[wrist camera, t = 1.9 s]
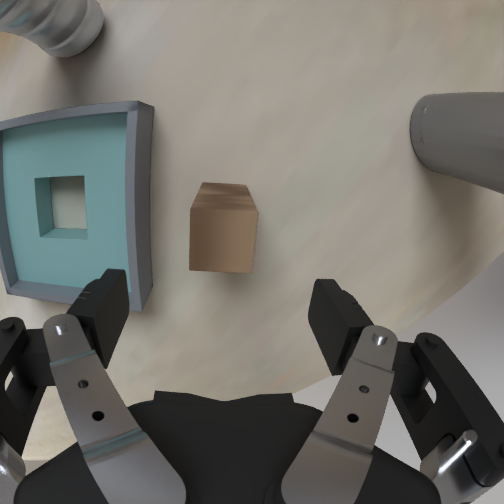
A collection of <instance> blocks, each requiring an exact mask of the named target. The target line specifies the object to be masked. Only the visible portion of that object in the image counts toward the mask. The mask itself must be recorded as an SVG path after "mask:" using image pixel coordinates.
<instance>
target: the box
mask: <svg viewBox="0 0 504 504" xmlns="http://www.w3.org/2000/svg"><path fill="white" fill-rule="evenodd" d="M153 111H154V107H153V106H151V105H148V104H145V103H143V102H140V101H127V102H113V103H102V104H93V105H84V106H77V107H70V108H63V109H57V110H51V111H46V112H41V113H36V114H31V115H26V116H22V117H18V118H13V119H9V120H6V121H2V122H0V269H1V273H2V277H3V281H4V284H5V288H6V291H7V294H11V295H16V296H22V297H28V298H34V299H40V300H46V301H53V302H59V303H67V304H73V303H74V301H75V300H76V299H77V298H78V296H79V295H80V293H81V292H82V290H83V289H84V288H85V286H86V285H87V284H88V283H90V282H92V281H93V280H95V279H100V278H101V276H102V275H103V273H104V272H105V271H106V269H108V268H111V269H124V270H125V272H126V277H127V286H128V295H129V304H130V307H129V311H136V312H142V310H143V308H144V305H145V303H146V300H147V298H148V296H149V293H150V291H151V288H152V286H153V284H152V268H151V247H150V160H151V139H152V124H153ZM81 175H84V181H85V206H86V220H87V229H67V228H54V224H53V215H52V203H51V188H50V177H59V176H81Z"/></svg>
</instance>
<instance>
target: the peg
mask: <svg viewBox="0 0 504 504" xmlns="http://www.w3.org/2000/svg"><path fill="white" fill-rule="evenodd" d="M257 219H258V211H257V209H256V207H255V204H254V202H253V200H252V197H251V195H250V193H249V191H248V188H247V186H246V185H238V184H222V183H204V182H203V183H202V185H201V187H200V189H199V191H198V193H197V196H196V198H195V200H194V202H193V204H192V207H191V209H190V250H189V270H193V271H212V272H233V273H252V268H253V258H254V248H255V238H256V229H257Z"/></svg>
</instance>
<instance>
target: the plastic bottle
mask: <svg viewBox="0 0 504 504" xmlns="http://www.w3.org/2000/svg"><path fill="white" fill-rule="evenodd" d="M103 22H104V13H103V11H102V9H101V6H100V4H99V3H98V2H97V1H96V0H0V31H1V32H7V33H11V34H15V35H19V36H22V37H25V38H26V39H28V40H30V41H32V42H33V43H35V44H37V45H38V46H39V47H40V48H41V49H42V50H44V51H45V52H46V53H48V54H49V55H51V56H54V57H71V56H74V55H77V54H78V53H80V52H82V51H83V50H85V49H86V48H87V47H89V46H90V45H91V44H92V43H93V41H94V40H95V39H96V38H97V36H98V35H99V33H100V30H101V28H102V26H103Z"/></svg>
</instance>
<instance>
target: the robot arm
mask: <svg viewBox="0 0 504 504" xmlns="http://www.w3.org/2000/svg"><path fill="white" fill-rule="evenodd" d="M410 133H411V140H412V144H413V147H414V150H415V152H416V154H417V156H418V158H419V159H420V160H421V162H422V163H423V164H424V165H425V166H426V167H427V168H429V169H430V170H432V171H435V172H438V173H442V174H445V175H448V176H452V177H455V178H457V179H461V180H464V181H467V182H470V183H473V184H476V185H479V186H482V187H485V188H488V189H490V190H493V191H496V192H499V193H501V194H504V92H466V93H445V94H433V95H427V96H425V97H423V98H422V99H421V100H420V101H419V102H418V103H417V105H416V106H415V108H414V110H413V113H412V117H411V122H410ZM129 307H130V304H129V295H128V286H127V277H126V272H125V270H124V269H111V268H108V269H106V271H105V272H104V273H103V275H102V276H101V278H100V279H95V280H93V281H92V282H90V283H88V284H87V285H86V286H85V288H84V289H83V290H82V292H81V293H80V295H79V296H78V298H77V299H76V300H75V301H74V303H73V304H72V306H71V307H70V308H69V310H68V311H67V313H66V314H59V315H55V316H53V317H51V318H49V319H48V320H47V321H46V322H45V323H44V325H43V328H42V329H27V330H26V327H25V324H24V322H23V320H22V319H20V318H18V317H9V318H5V319H3V320H1V321H0V504H470V503H471V502H473V501H474V500H475V499H477V498H479V497H480V496H481V495H483V494H484V493H485V492H487V491H488V490H489V489H491V488H492V487H493V486H495V485H496V484H497V483H498V482H500V481H501V480H502V479H503V478H504V423H503V421H502V420H501V418H500V417H499V415H498V414H497V412H496V411H495V409H494V408H493V406H492V405H491V403H490V402H489V400H488V399H487V398H486V396H485V395H484V393H483V392H482V390H481V389H480V388H479V386H478V385H477V384H476V382H475V381H474V379H473V378H472V377H471V375H470V374H469V373H468V371H467V370H466V369H465V367H464V366H463V365H462V363H461V362H460V361H459V360H458V358H457V357H456V356H455V354H454V353H453V352H452V351H451V349H450V348H449V347H448V346H447V344H446V343H445V342H444V341H443V340H442V339H441V338H440V337H438V336H436V335H434V334H432V333H426V332H425V333H420V334H418V335H417V337H416V339H415V341H414V343H408V342H400V341H398V339H397V337H396V335H395V334H394V333H393V332H392V331H391V330H389V329H387V328H385V327H382V326H377V325H374V324H373V322H372V321H371V320H370V318H369V317H368V315H367V314H366V313H365V311H364V310H362V307H361V306H360V305H359V304H358V302H357V301H356V299H355V298H354V297H353V296H352V295H351V294H349V293H348V292H346V291H345V290H342V289H341V288H340V287H339V285H338V284H337V282H336V281H335V280H334V279H317V280H316V281H315V283H314V288H313V292H312V297H311V301H310V306H309V311H308V320H309V324H310V326H311V329H312V331H313V333H314V335H315V338H316V340H317V342H318V344H319V347H320V349H321V351H322V354H323V356H324V358H325V360H326V363H327V365H328V367H329V370H330V372H331V374H332V376H335V375H342V376H341V378H340V380H339V382H338V385H337V386H336V389H335V391H334V392H333V394H332V396H331V398H330V400H329V402H328V404H327V406H326V408H325V410H324V411H323V412H322V411H320V410H318V409H316V408H314V407H311V406H308V405H304V404H299V403H294V401H293V396H292V393H284V394H259V395H254V396H250V397H245V398H240V399H235V400H230V401H219V400H214V399H210V398H206V397H201V396H197V395H193V394H189V393H177V392H165V391H155V393H154V399H153V400H151V401H145V402H140V403H137V404H134V405H131V406H129V407H126V405H125V404H124V402H123V400H122V399H121V397H120V395H119V394H118V392H117V390H116V388H115V387H114V385H113V383H112V382H111V380H110V378H109V376H108V374H107V372H106V371H105V369H107V367H108V364H109V362H110V359H111V357H112V354H113V352H114V349H115V347H116V344H117V342H118V339H119V337H120V334H121V332H122V329H123V327H124V325H125V322H126V320H127V318H128V315H129ZM10 371H11V372H12V374H13V378H12V380H11V382H10V384H9V386H8V388H7V390H6V392H5V380H6V378H7V376H8V374H9V372H10ZM429 381H430V382H431V384H432V386H433V387H434V389H435V391H436V401H435V403H433V401H432V400H431V398H430V396H429V395H428V393H427V391H426V390H425V387H426V385H427V384H428V382H429ZM47 386H56V387H57V390H58V393H59V396H60V399H61V402H62V404H63V407H64V410H65V412H66V415H67V418H68V420H69V423H70V425H71V427H72V430H73V432H74V434H75V437H76V439H77V442H76V443H74V444H73V445H72V446H70V447H69V448H67V449H66V450H64V451H63V452H61V453H60V454H58V455H57V456H55V457H54V458H52V459H51V460H50V461H48V462H46V463H45V464H43V465H42V466H40V467H39V468H37V469H36V470H34V471H33V472H31V473H30V474H28V475H27V476H26V475H25V473H26V468H25V464H24V461H23V459H22V458H21V457H22V453H23V450H24V447H25V444H26V440H27V437H28V434H29V431H30V429H31V426H32V423H33V420H34V417H35V415H36V412H37V409H38V407H39V404H40V402H41V399H42V397H43V394H44V392H45V389H46V387H47ZM389 394H391V397H392V399H393V401H394V402H395V405H396V407H397V409H398V411H399V413H400V415H401V417H402V419H403V422H404V423H405V426H406V428H407V430H408V432H409V434H410V437H411V439H412V440H413V443H414V445H415V448H416V450H417V452H418V454H419V457H420V459H421V461H422V462H421V465H420V471H418V470H416V469H414V468H412V467H410V466H409V465H407V464H405V463H403V462H402V461H400V460H398V459H397V458H395V457H393V456H391V455H390V454H388V453H386V452H385V451H383V450H381V449H380V448H378V447H377V446H375V445H374V444H375V441H376V438H377V435H378V432H379V429H380V426H381V423H382V419H383V416H384V413H385V409H386V406H387V402H388V398H389Z"/></svg>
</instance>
